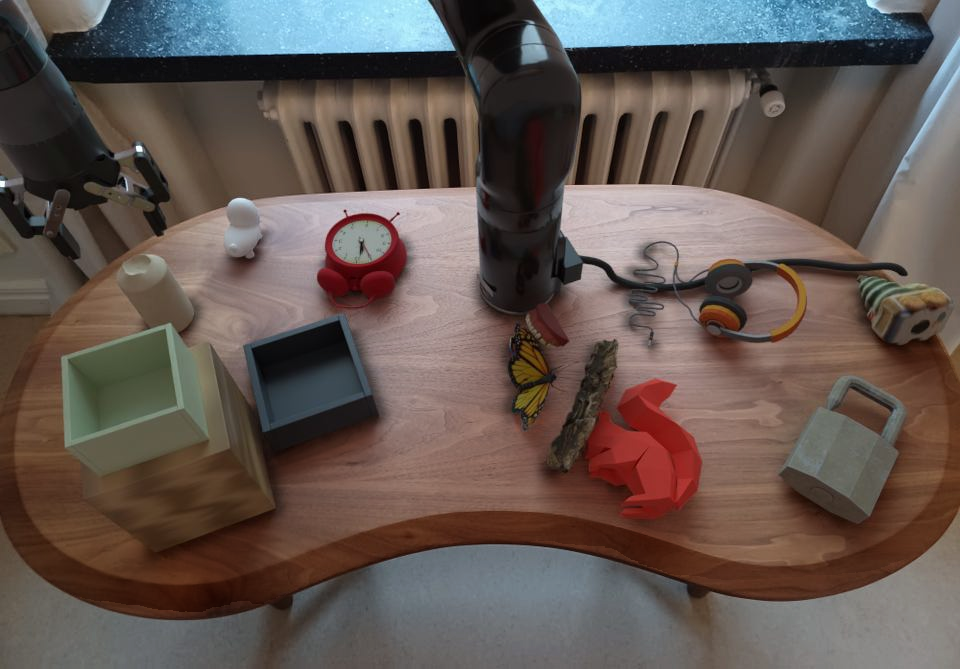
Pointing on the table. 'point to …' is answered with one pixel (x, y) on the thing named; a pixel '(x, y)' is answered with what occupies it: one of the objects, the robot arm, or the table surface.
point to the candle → (155, 292)
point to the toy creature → (242, 228)
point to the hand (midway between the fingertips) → (119, 242)
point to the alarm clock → (362, 257)
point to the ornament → (904, 309)
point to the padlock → (845, 454)
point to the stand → (192, 472)
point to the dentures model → (543, 329)
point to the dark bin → (308, 382)
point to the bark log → (584, 408)
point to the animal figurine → (646, 453)
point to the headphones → (723, 312)
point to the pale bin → (131, 400)
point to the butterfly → (529, 377)
